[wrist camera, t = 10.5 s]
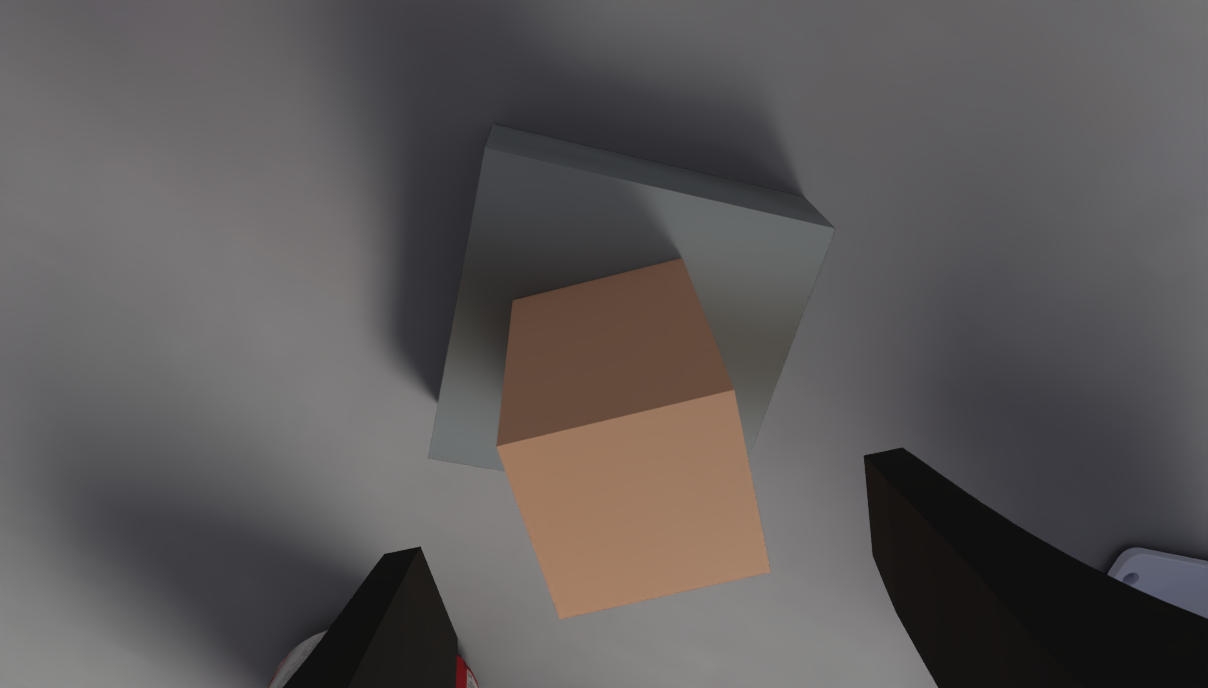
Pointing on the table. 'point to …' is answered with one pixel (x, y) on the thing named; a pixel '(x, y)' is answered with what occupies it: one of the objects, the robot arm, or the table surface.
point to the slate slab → (620, 267)
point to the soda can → (298, 655)
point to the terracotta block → (626, 442)
